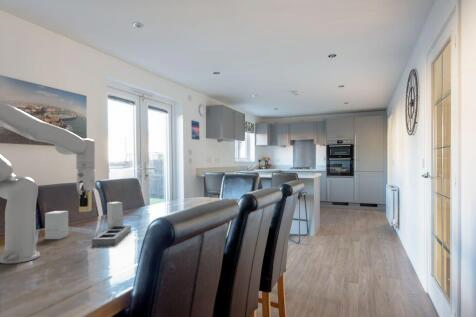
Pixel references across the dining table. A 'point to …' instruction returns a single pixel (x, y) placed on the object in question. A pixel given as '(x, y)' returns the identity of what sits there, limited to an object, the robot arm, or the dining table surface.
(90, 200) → the brass block
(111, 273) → the dining table surface
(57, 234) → the supplement box
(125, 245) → the dining table surface
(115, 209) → the skincare box
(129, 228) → the grey compartment tray
